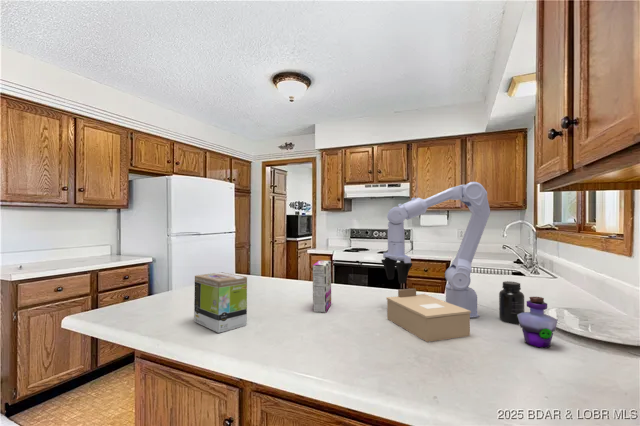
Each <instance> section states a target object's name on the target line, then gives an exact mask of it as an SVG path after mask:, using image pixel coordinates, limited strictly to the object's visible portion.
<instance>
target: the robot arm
mask: <svg viewBox="0 0 640 426" xmlns="http://www.w3.org/2000/svg"><path fill="white" fill-rule="evenodd" d="M410 199H411V200H409V201H406V202H405V203H398V205H397V206H393V207H392V208H390V209H388V212H387V216H386V218H387V221H388V223H387V227H388V228H387V251H386V252H383V253H382V254H383V255H382V257H383V259H381V263H382V265H383V267H384V270H385V274H386V278H387V280H395V272H396V271H397V280H398V284H400V285H402V284H406V282H407V278H408V274H409V272H410V270H411V267H412V266H413V263H412V260H411V259H412V258H411V256H408V255H406V254H405V251H406V250H405V248H406V244H405V242H406V241H405V239H406V238H405V234H406V233H405V226H404V225H405V224H404V223H405V222H404V221H405V220H411V219H414V218H416V217H419V216H421V215H424V214H426V212H427V210H428V208H431V207H433V206H436V205H439V204H441V203H444V202H446V201H449V200H451V201H460V202H461V203H463V204H464V205H466V207H467V208H468V210H469V211H470V213H471V216H470V219H469V222H468V223H467V225H466V229H465V231H464V234H463V237H462V239H461V242H460V245H459V248H458V249H457V252H456V256H455V258H454V259H453V260H452V262H451V265H450V266H449V267H448V268H447V269H446V270H445V272H444V278H445V280H446V282H447V283H446V285H445V302H448V303H450V304H453V305H456V306H458V307H461V308H464V309H467V310H469V311H471V313H469V314H470V319H471V318H473V319H474V318H479V317H480V314H478V295H477V291H475V289H474V288H472V287H470V284H471V283H472V282H471V273H472V262H473V260H474V258H475V254H476V252H477V249H478V247H479V244H480V241H481V239H482V236H483V233H484V230H485V228H486V225H487V222H488V220H489V217H490V214H491V209H490V203H489V199H488V192H487V190H486V188H485V187H484V186H483V184H481V183H480V182H477V181H470V182H468V183H466V184H460V185H456V186H452V187H449V188H447V189H445V190H443V191H441V192H438V193H435V194H434V195H432V196H429V197H427V198H424V199H423V198H421V197H412V198H410ZM395 270H396V271H395Z"/></svg>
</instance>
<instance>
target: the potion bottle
mask: <svg viewBox="0 0 640 426" xmlns="http://www.w3.org/2000/svg"><path fill="white" fill-rule="evenodd" d="M544 300H545V298H544V297H542V296H529V300H527V301H526V307H527V308H529V311H526V312H525V311H524V312H522V313H520V314H518V315H517V316H518V320H519V324H518V325H519V327H520V329H521V331H522V335H523V339H524V343H525V344H526V345H527V346H530V347H533V348H536V349H547V350H548V349H550V348H551V347H552V345H551V343H552V339H553V336H554V333H553V332H556V328H557V325H558V322H559V321H558V319H557V318H555V317H553V316H551V315H549V314H545V310H547V309H548V303H547V302H545V301H544Z"/></svg>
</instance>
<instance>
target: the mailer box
mask: <svg viewBox="0 0 640 426" xmlns="http://www.w3.org/2000/svg"><path fill="white" fill-rule="evenodd" d="M386 300H387V299H386ZM386 304H387V305H386V307H387V308H386V309H387V312H386V313H387V315H386V316H387V318H386V319H387V320H389V321H390V322H392V323H394V324H395V325H397V326H399V327H400V328H402V329H404V330H405V331H407V332H409V333H411V334H412V335H414V336H416V337H418V338H419V339H421V340H422V339H423V340H422V341H424V340H425V341H424V342H426V343H429V341H431V342H437V340H438V341H444V339H445V340H450V339H451V338H452V339H456V338H457V339H458V338H464V337H470V336H471V318H470V314H460V315H452V316H443V317H435V318H425V317H422V316H420V315H418V314H416V313H414V312H412V311H410V310H408V309H406V308H404V307H401V306H399V305H397V304H395V303H393V302H391V301H389V300H387V303H386Z"/></svg>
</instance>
